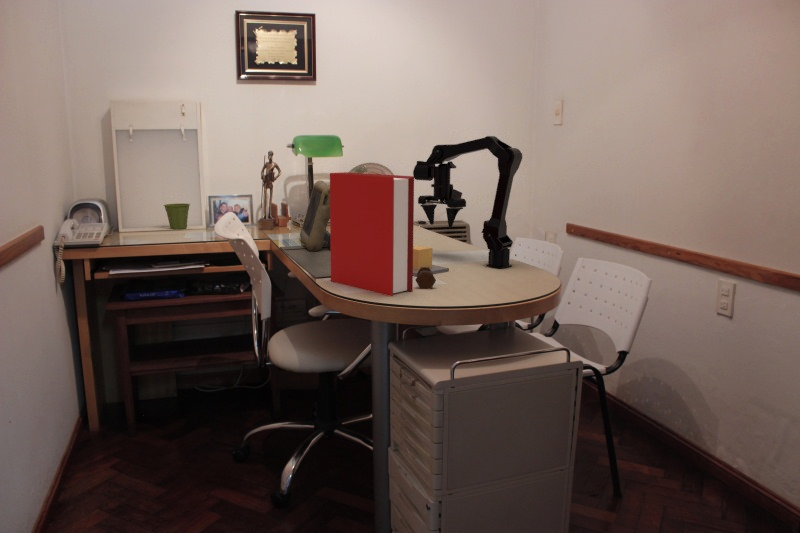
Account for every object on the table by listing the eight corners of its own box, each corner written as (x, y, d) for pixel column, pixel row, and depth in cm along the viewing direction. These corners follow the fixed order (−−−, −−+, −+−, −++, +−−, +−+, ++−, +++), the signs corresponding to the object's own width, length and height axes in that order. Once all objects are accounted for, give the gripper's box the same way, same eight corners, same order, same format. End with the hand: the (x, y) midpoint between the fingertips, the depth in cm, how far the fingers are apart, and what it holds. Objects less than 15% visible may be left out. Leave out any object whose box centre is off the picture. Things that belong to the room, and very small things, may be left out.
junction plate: (448, 271, 209) (449, 256, 208) (417, 276, 200) (417, 261, 199) (419, 264, 220) (419, 250, 219) (388, 269, 210) (388, 254, 209)
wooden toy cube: (432, 267, 209) (432, 248, 208) (418, 270, 205) (418, 250, 204) (418, 265, 214) (419, 245, 213) (405, 267, 210) (405, 247, 209)
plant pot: (184, 226, 310) (183, 202, 308) (195, 228, 301) (194, 204, 299) (160, 228, 302) (159, 204, 300) (171, 231, 294) (169, 206, 291)
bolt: (426, 284, 199) (428, 293, 184) (412, 276, 199) (413, 284, 184) (436, 268, 198) (438, 276, 184) (422, 259, 198) (423, 267, 183)
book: (412, 291, 181) (414, 176, 175) (392, 296, 175) (393, 177, 169) (348, 276, 199) (347, 172, 193) (327, 280, 194) (326, 173, 188)
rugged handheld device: (293, 239, 272) (292, 180, 267) (325, 238, 276) (325, 179, 272) (308, 252, 242) (307, 185, 237) (344, 250, 246) (344, 184, 241)
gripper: (477, 182, 223) (476, 226, 226) (439, 179, 237) (438, 221, 240) (455, 183, 216) (454, 229, 219) (417, 180, 230) (416, 223, 233)
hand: (441, 225), depth 228 cm, fingers open, 9 cm apart
